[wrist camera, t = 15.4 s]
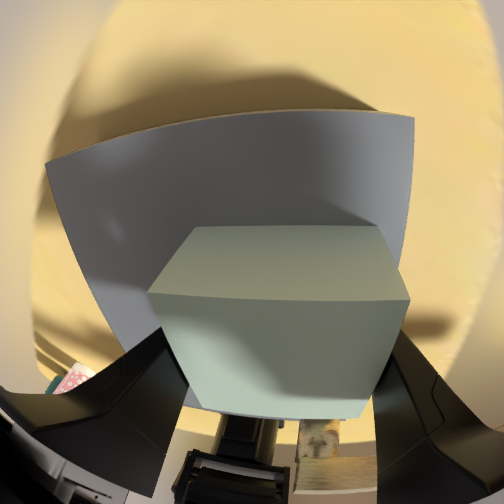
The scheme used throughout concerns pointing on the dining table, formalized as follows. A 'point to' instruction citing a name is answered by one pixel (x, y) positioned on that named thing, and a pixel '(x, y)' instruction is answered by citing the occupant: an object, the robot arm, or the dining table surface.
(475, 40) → the dining table surface
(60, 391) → the beverage cup
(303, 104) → the dining table surface
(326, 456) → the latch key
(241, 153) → the box
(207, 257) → the rectangular block
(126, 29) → the dining table surface
